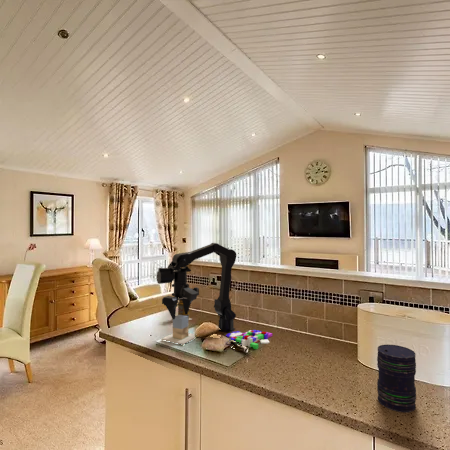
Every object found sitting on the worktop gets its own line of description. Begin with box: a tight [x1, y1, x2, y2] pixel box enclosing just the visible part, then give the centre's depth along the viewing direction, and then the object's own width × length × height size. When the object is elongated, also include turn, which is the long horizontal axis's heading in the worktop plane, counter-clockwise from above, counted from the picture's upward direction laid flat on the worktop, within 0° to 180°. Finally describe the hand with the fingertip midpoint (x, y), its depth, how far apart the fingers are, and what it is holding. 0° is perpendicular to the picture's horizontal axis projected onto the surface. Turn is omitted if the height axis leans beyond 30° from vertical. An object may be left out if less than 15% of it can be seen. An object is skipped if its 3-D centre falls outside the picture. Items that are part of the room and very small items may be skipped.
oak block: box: [172, 325, 189, 339], centre depth 144 cm, size 5×5×4 cm
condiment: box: [177, 299, 192, 321], centre depth 174 cm, size 7×8×12 cm
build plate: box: [160, 332, 195, 346], centre depth 144 cm, size 12×12×1 cm
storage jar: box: [376, 344, 417, 413], centre depth 92 cm, size 10×10×15 cm
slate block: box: [172, 314, 189, 329], centre depth 144 cm, size 5×5×4 cm
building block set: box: [225, 329, 273, 350], centre depth 143 cm, size 25×20×4 cm
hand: (180, 316), depth 144 cm, fingers open, 9 cm apart
